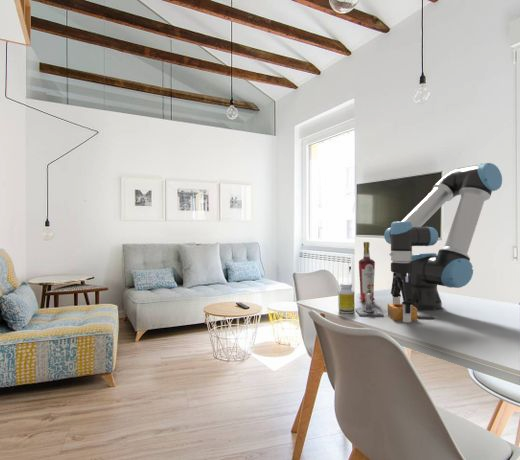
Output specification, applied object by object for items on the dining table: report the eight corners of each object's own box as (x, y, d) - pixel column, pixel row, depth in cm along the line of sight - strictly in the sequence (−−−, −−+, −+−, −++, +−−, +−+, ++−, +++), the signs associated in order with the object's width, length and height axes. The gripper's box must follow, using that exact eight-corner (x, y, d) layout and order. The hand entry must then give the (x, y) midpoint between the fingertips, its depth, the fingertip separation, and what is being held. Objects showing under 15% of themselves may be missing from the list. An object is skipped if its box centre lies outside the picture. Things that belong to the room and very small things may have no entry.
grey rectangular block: (432, 317, 136) (432, 315, 136) (434, 319, 134) (434, 316, 134) (415, 317, 137) (415, 315, 137) (418, 318, 135) (418, 316, 135)
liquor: (372, 300, 172) (371, 241, 172) (377, 303, 164) (377, 242, 164) (356, 300, 171) (356, 241, 172) (361, 303, 164) (361, 242, 164)
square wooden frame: (410, 315, 140) (409, 303, 140) (417, 320, 132) (417, 308, 132) (387, 315, 141) (387, 303, 141) (393, 320, 133) (393, 308, 133)
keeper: (355, 310, 150) (354, 291, 150) (377, 310, 149) (376, 291, 149) (359, 316, 139) (359, 296, 139) (383, 316, 138) (383, 296, 139)
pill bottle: (355, 314, 143) (354, 285, 143) (338, 313, 144) (338, 284, 144) (354, 310, 149) (353, 282, 149) (338, 310, 151) (338, 282, 151)
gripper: (383, 259, 149) (383, 310, 149) (400, 264, 124) (400, 325, 124) (401, 259, 148) (401, 310, 148) (423, 265, 124) (423, 326, 123)
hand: (401, 317), depth 136 cm, fingers open, 13 cm apart
